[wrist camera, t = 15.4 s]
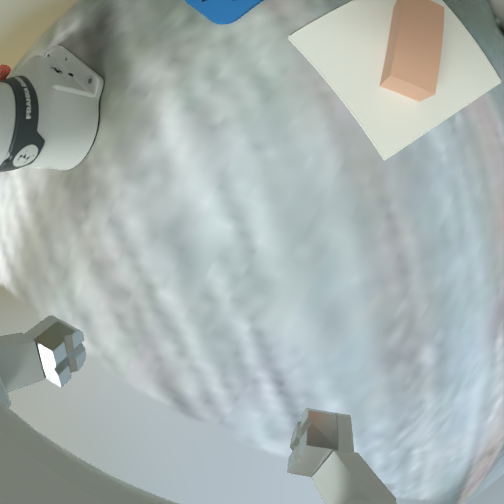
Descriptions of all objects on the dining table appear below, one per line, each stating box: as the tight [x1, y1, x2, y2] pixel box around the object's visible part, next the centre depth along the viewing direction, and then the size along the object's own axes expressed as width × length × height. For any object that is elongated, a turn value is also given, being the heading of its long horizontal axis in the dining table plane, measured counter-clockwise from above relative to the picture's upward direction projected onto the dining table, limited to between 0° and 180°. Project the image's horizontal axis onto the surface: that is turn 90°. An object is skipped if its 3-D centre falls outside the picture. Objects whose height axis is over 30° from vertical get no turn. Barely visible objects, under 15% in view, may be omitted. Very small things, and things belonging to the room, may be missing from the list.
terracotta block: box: [380, 0, 445, 102], centre depth 23 cm, size 5×5×12 cm
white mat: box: [288, 0, 501, 160], centre depth 26 cm, size 18×22×1 cm
